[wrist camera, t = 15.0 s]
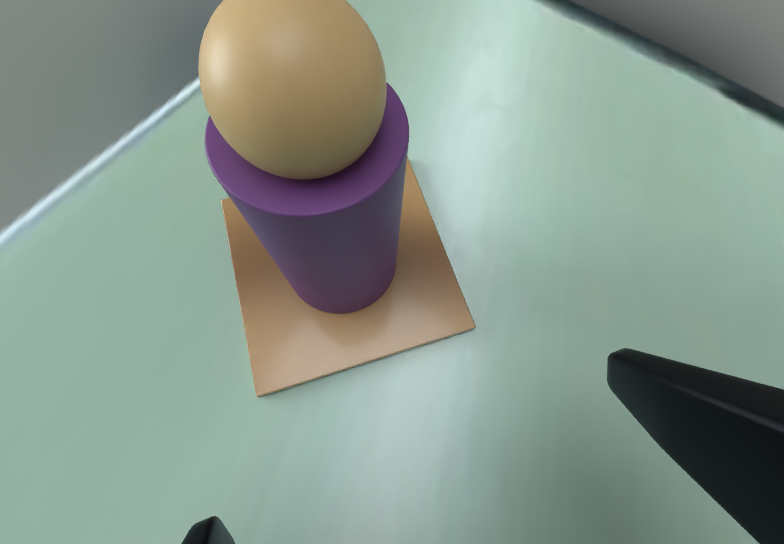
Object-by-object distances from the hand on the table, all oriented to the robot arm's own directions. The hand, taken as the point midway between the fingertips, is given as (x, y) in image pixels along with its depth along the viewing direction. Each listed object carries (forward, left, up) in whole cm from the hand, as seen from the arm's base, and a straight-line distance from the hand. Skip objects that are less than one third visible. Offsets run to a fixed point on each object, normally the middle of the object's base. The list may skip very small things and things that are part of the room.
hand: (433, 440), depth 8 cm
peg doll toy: (+8, +1, -8) cm, 11 cm away
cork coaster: (+8, +1, -8) cm, 12 cm away
